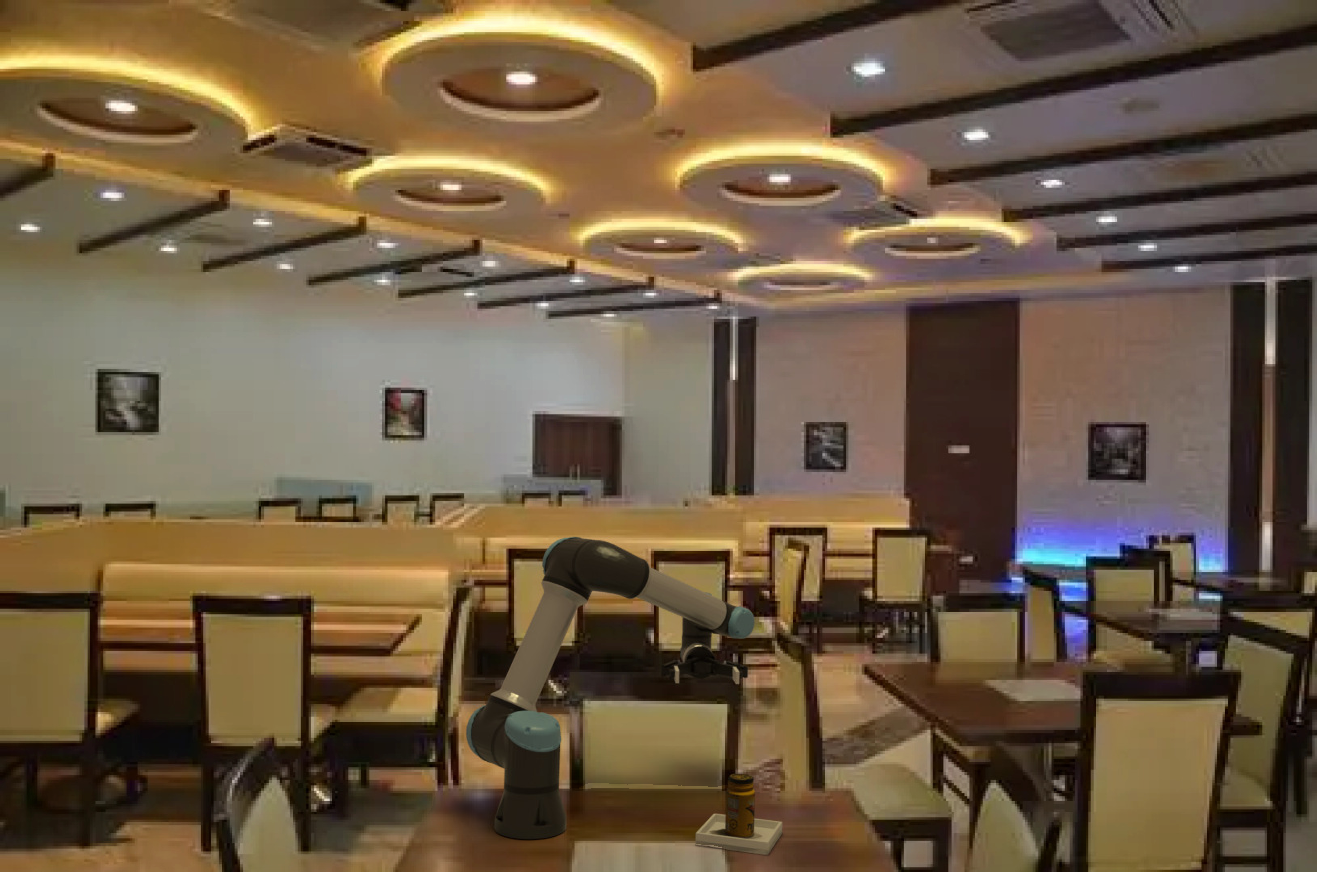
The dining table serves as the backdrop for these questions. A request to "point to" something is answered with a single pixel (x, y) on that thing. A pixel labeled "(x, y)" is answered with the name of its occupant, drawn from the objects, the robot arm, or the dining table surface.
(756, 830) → the tray
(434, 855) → the dining table surface
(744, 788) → the condiment
